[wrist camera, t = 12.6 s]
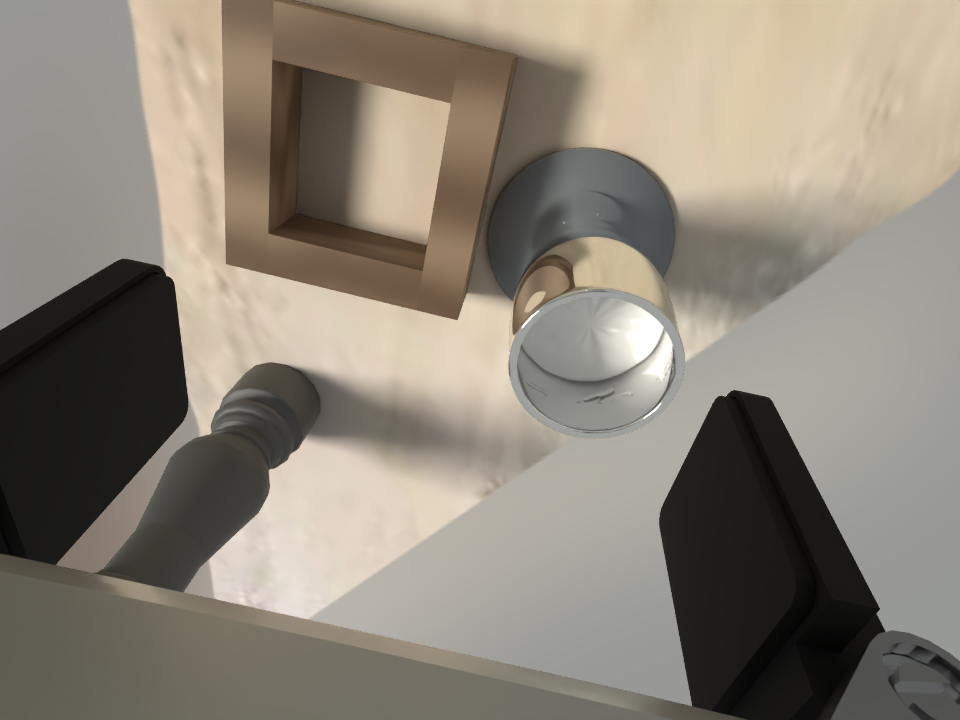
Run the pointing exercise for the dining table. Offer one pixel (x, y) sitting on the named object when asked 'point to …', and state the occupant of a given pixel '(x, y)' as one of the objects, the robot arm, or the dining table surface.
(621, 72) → the dining table surface
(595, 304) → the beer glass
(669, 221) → the coaster
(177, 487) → the candle holder
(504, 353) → the dining table surface
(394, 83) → the frame
